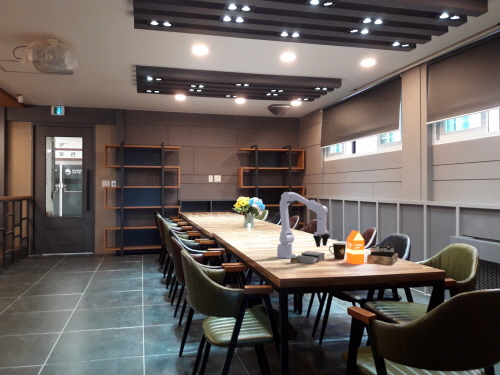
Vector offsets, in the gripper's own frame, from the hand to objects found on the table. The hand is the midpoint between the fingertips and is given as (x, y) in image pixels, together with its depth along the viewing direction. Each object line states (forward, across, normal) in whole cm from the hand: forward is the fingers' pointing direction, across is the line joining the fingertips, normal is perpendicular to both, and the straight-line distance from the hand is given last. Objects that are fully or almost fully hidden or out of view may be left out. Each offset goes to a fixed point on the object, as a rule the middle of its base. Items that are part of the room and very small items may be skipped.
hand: (321, 246), depth 240 cm
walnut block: (+10, -15, +10) cm, 21 cm away
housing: (+10, +3, +8) cm, 13 cm away
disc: (+6, -15, +10) cm, 19 cm away
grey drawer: (+10, -5, +6) cm, 13 cm away
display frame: (+10, +30, -27) cm, 42 cm away
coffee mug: (+10, +18, -1) cm, 21 cm away
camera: (+10, +31, -26) cm, 41 cm away
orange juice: (+10, +14, -16) cm, 24 cm away
